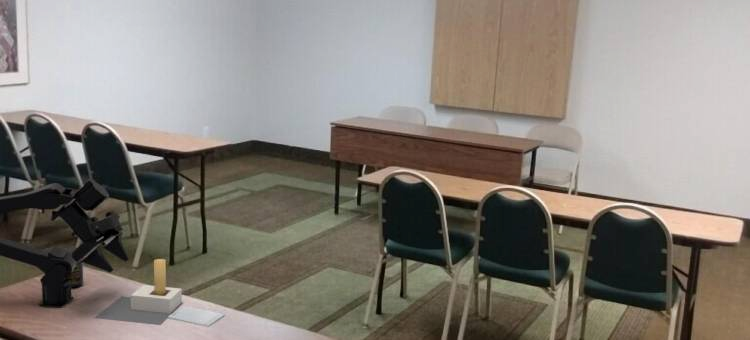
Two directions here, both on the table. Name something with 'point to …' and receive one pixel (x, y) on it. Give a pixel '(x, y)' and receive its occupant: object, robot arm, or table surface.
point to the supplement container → (75, 272)
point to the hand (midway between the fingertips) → (119, 265)
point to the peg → (160, 277)
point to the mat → (132, 313)
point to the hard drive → (196, 316)
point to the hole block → (156, 299)
